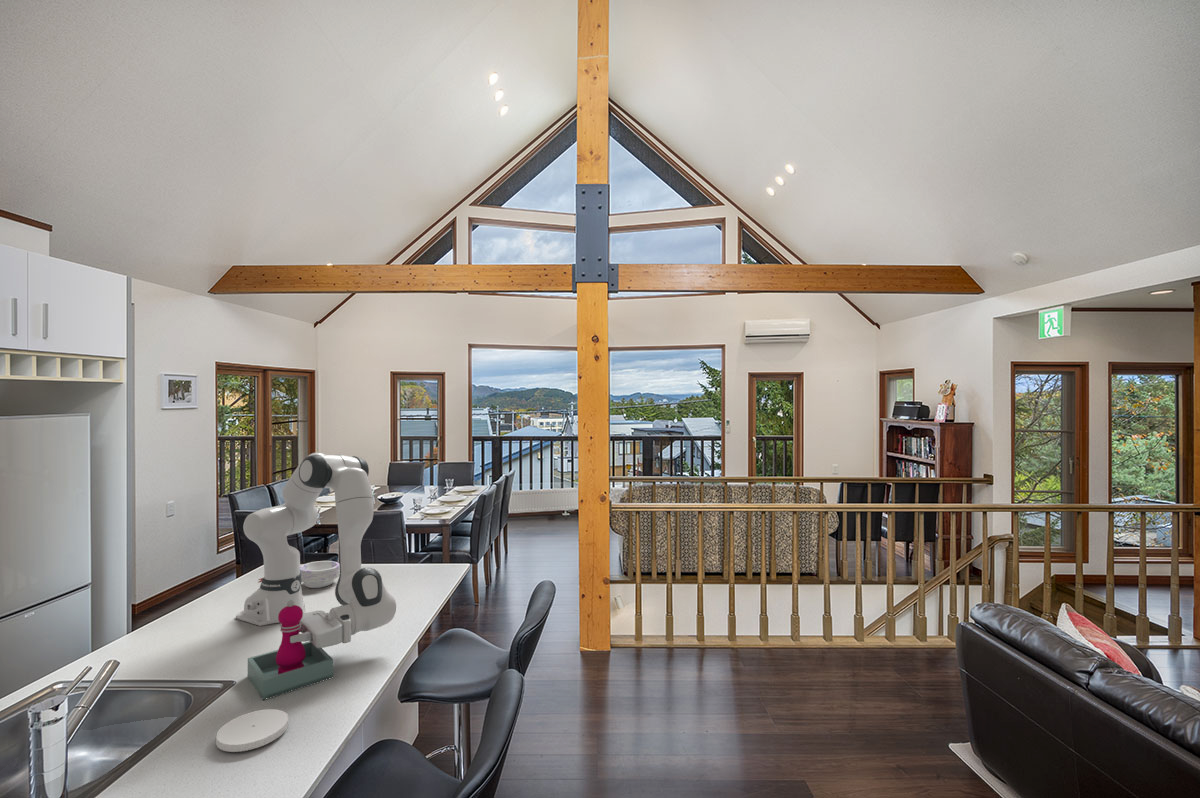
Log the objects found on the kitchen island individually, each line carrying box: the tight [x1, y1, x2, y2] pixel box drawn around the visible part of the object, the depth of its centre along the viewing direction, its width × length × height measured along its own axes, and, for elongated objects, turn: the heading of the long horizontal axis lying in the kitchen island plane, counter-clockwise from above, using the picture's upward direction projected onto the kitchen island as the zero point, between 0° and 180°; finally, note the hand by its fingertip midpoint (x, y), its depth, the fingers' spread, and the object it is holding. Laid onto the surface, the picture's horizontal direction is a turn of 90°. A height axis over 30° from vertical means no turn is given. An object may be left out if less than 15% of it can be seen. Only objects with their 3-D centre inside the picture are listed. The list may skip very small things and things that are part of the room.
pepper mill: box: [276, 600, 306, 674], centre depth 156 cm, size 7×7×20 cm
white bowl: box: [300, 560, 340, 589], centre depth 233 cm, size 15×15×8 cm
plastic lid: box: [215, 708, 289, 753], centre depth 129 cm, size 14×14×2 cm
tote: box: [247, 641, 334, 700], centre depth 156 cm, size 17×17×5 cm
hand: (287, 636), depth 155 cm, fingers closed on pepper mill, 4 cm apart
